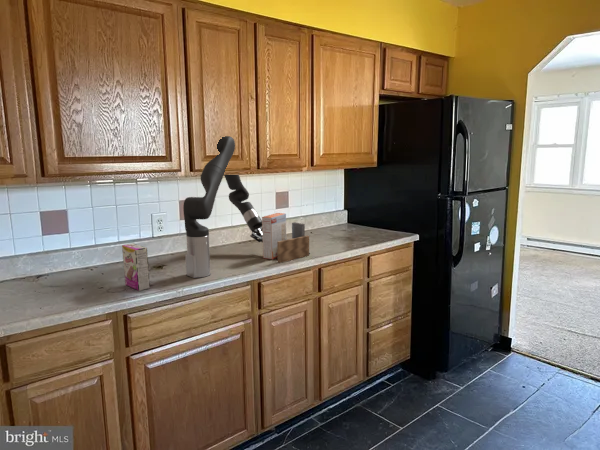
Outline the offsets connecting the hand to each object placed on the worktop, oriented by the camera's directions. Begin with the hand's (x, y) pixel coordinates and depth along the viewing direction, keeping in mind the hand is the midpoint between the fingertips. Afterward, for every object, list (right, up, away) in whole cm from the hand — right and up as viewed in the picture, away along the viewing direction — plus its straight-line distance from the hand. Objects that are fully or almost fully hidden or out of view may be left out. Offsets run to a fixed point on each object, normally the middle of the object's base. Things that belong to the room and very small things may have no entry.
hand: (269, 247), depth 215 cm
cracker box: (+3, -5, -1) cm, 6 cm away
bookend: (+16, -4, +4) cm, 17 cm away
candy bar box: (-48, -13, -48) cm, 69 cm away
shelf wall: (+13, -5, -6) cm, 15 cm away
